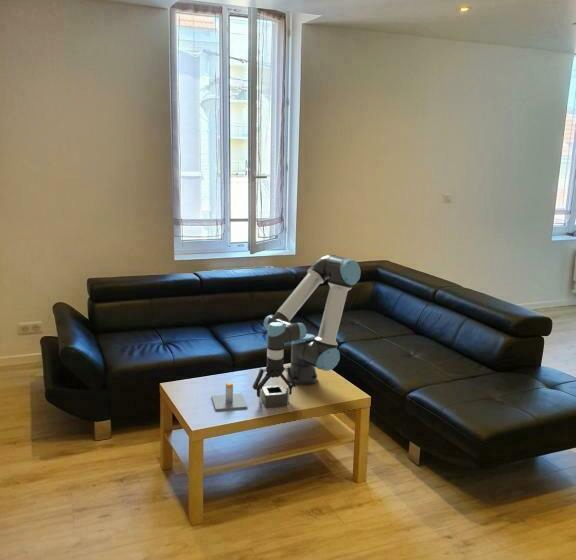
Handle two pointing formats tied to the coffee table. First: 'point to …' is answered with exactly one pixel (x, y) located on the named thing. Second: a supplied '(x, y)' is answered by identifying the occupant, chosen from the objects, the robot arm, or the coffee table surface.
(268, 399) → the hollow square block
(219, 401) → the keeper
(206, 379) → the coffee table surface
